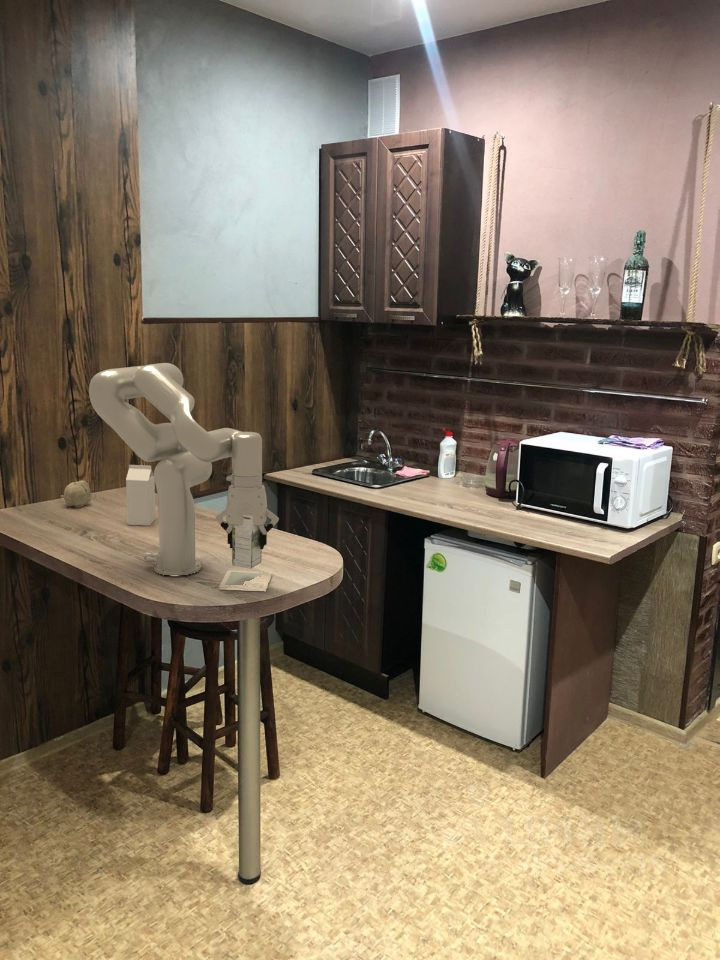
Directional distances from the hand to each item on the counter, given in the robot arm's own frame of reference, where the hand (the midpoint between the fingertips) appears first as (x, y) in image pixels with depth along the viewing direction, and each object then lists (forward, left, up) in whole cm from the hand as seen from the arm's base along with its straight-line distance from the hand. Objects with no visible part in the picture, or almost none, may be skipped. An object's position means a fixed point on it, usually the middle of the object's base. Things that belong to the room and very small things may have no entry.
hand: (247, 546), depth 206 cm
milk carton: (-42, +50, -10) cm, 66 cm away
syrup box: (0, 0, -5) cm, 5 cm away
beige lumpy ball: (-69, +66, -10) cm, 96 cm away
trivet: (0, 0, -10) cm, 10 cm away
